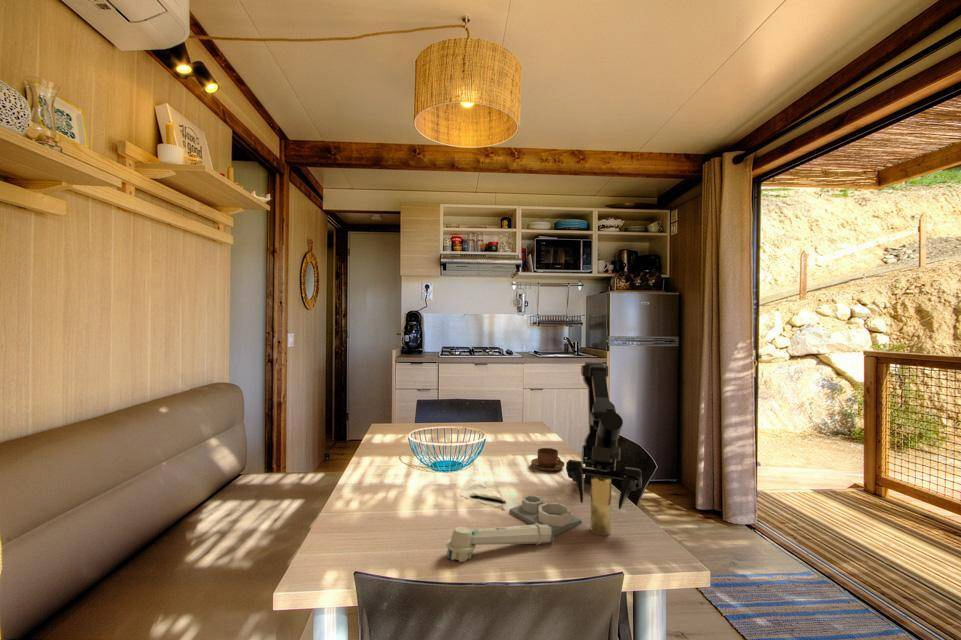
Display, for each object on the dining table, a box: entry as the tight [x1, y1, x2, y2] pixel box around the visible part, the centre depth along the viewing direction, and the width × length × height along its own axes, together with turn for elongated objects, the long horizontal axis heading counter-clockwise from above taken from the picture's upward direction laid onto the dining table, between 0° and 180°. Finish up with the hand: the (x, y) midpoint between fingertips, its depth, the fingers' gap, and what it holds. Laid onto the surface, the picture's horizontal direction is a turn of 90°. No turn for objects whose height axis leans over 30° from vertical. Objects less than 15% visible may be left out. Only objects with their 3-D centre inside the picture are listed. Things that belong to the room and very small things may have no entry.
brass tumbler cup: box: [589, 476, 613, 537], centre depth 108 cm, size 5×5×13 cm
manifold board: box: [508, 494, 583, 536], centre depth 114 cm, size 11×16×4 cm
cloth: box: [459, 478, 507, 511], centre depth 131 cm, size 26×14×2 cm, turn 13°
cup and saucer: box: [530, 447, 565, 472], centre depth 155 cm, size 12×12×6 cm
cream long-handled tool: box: [445, 523, 555, 563], centre depth 98 cm, size 5×7×25 cm
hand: (600, 505), depth 106 cm, fingers open, 9 cm apart
